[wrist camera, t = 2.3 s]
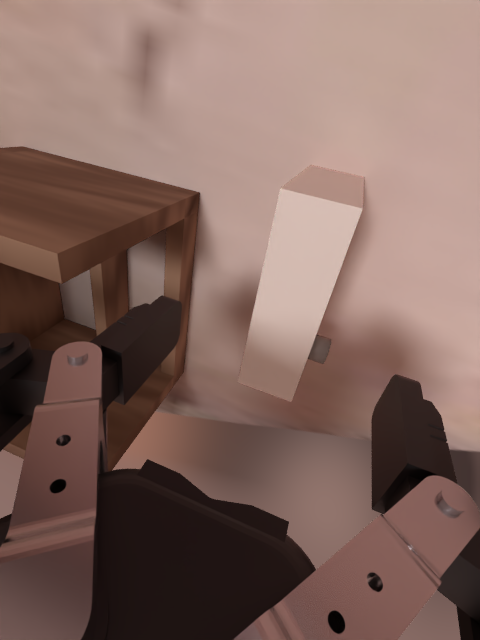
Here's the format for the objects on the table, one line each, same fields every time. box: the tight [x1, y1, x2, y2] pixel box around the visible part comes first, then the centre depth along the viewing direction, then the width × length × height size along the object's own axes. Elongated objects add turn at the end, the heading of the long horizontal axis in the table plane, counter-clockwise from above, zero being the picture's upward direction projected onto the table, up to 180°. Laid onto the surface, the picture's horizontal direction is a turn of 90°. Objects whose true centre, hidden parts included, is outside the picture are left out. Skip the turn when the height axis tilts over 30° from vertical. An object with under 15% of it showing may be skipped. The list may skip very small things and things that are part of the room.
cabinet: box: [0, 147, 200, 471], centre depth 22 cm, size 16×14×12 cm
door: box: [237, 165, 364, 402], centre depth 18 cm, size 10×4×8 cm, turn 170°
